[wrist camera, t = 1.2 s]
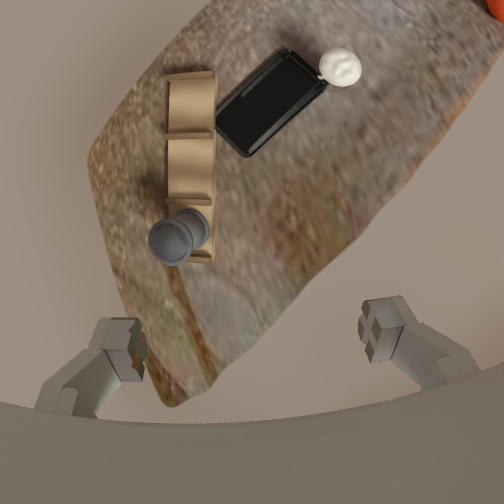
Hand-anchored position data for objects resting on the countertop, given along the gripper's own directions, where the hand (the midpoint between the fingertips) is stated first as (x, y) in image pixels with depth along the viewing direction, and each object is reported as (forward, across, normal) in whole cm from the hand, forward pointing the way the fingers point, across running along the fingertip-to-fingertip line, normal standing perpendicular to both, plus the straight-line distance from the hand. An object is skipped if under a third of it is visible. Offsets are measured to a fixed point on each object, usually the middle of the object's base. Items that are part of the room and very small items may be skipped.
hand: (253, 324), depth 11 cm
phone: (+35, -5, -4) cm, 36 cm away
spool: (+32, +7, +12) cm, 35 cm away
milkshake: (+33, -13, -7) cm, 37 cm away
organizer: (+35, +6, +4) cm, 36 cm away
